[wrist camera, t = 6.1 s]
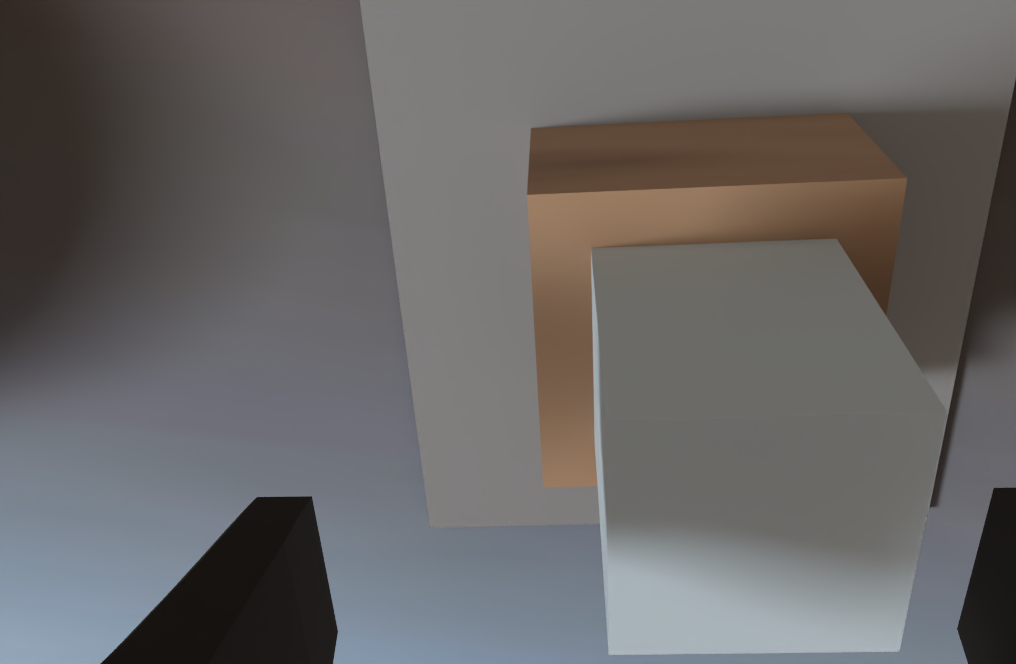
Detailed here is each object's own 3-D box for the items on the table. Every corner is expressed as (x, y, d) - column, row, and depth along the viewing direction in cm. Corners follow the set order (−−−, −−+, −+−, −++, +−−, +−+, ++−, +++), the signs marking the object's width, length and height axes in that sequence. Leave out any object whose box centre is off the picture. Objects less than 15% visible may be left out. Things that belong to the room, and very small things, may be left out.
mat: (923, 508, 23) (927, 517, 23) (431, 519, 24) (429, 527, 23) (1049, -133, 16) (1057, -132, 16) (350, -89, 17) (347, -87, 17)
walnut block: (816, 379, 21) (861, 479, 18) (544, 388, 21) (543, 487, 18) (846, 112, 18) (907, 178, 15) (530, 127, 18) (526, 194, 15)
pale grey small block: (812, 437, 17) (898, 651, 13) (594, 443, 18) (608, 655, 13) (836, 238, 16) (947, 412, 11) (591, 247, 16) (606, 421, 11)
